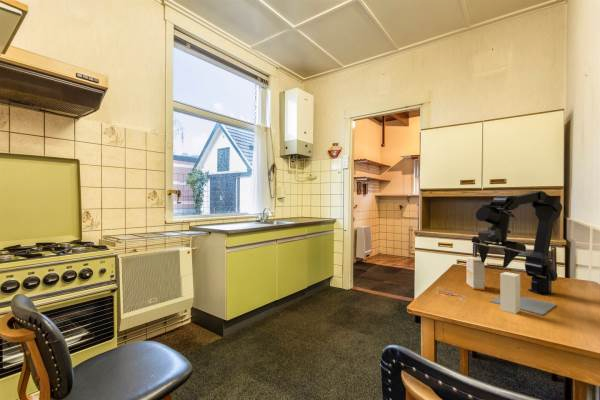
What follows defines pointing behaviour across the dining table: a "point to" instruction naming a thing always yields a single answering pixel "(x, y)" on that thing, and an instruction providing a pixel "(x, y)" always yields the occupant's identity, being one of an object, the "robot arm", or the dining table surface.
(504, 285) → the block
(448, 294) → the key chain
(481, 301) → the dining table surface
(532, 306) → the mat
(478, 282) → the supplement box
